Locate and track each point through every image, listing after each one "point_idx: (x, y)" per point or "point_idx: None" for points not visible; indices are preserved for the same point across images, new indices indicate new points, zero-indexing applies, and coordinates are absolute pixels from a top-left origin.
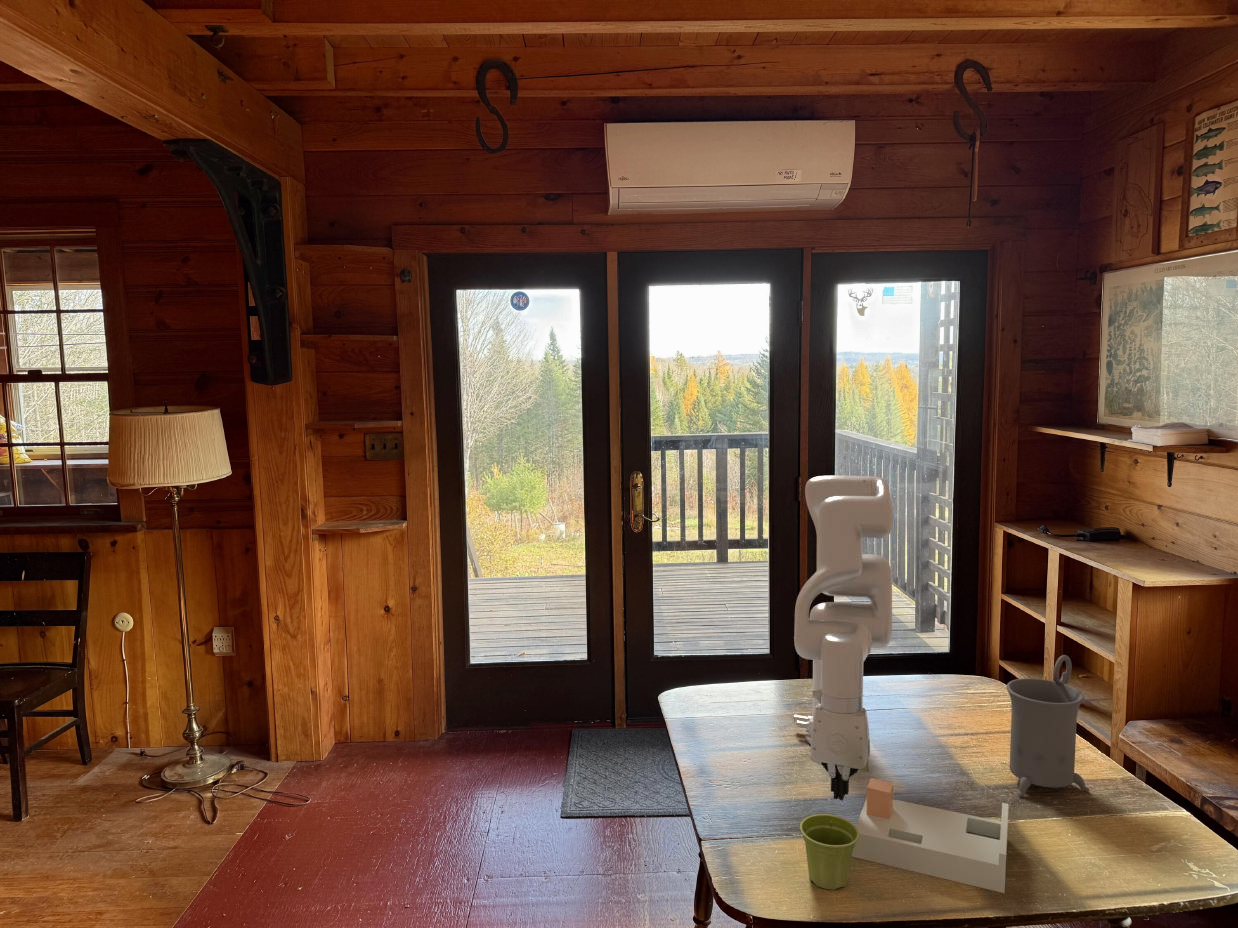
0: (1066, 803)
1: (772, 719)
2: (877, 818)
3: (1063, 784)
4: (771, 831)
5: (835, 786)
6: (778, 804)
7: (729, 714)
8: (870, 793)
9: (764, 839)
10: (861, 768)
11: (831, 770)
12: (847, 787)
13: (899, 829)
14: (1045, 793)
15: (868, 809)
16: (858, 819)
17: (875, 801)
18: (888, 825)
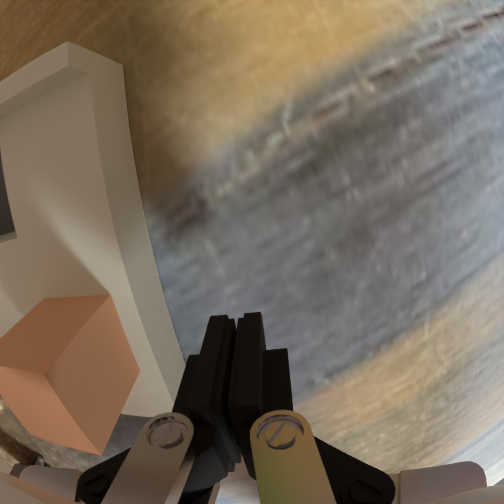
0: (11, 444)
1: None
2: (69, 283)
3: (13, 466)
4: (439, 76)
5: (247, 361)
6: (462, 265)
7: (500, 461)
8: (45, 354)
9: (433, 23)
10: (59, 488)
11: (288, 461)
12: (183, 385)
13: (2, 248)
14: (34, 461)
15: (94, 306)
16: (116, 234)
17: (48, 331)
18: (27, 254)
